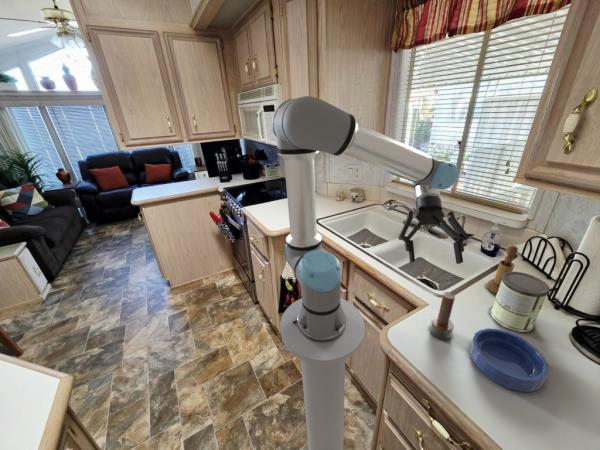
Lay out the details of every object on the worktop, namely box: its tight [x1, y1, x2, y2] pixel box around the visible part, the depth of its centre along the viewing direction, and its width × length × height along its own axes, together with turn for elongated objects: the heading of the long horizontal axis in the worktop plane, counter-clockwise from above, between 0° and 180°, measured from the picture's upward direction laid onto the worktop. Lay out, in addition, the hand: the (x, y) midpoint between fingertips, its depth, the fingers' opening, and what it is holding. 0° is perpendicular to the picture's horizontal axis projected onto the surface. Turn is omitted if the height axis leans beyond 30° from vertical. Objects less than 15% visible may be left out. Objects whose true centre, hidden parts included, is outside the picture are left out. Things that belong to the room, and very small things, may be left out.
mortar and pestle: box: [486, 244, 519, 295], centre depth 85 cm, size 7×6×18 cm
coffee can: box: [490, 271, 551, 333], centre depth 73 cm, size 10×10×14 cm
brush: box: [430, 291, 456, 341], centre depth 70 cm, size 6×6×14 cm
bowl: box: [469, 328, 549, 393], centre depth 62 cm, size 15×15×4 cm
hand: (435, 262), depth 76 cm, fingers open, 13 cm apart
